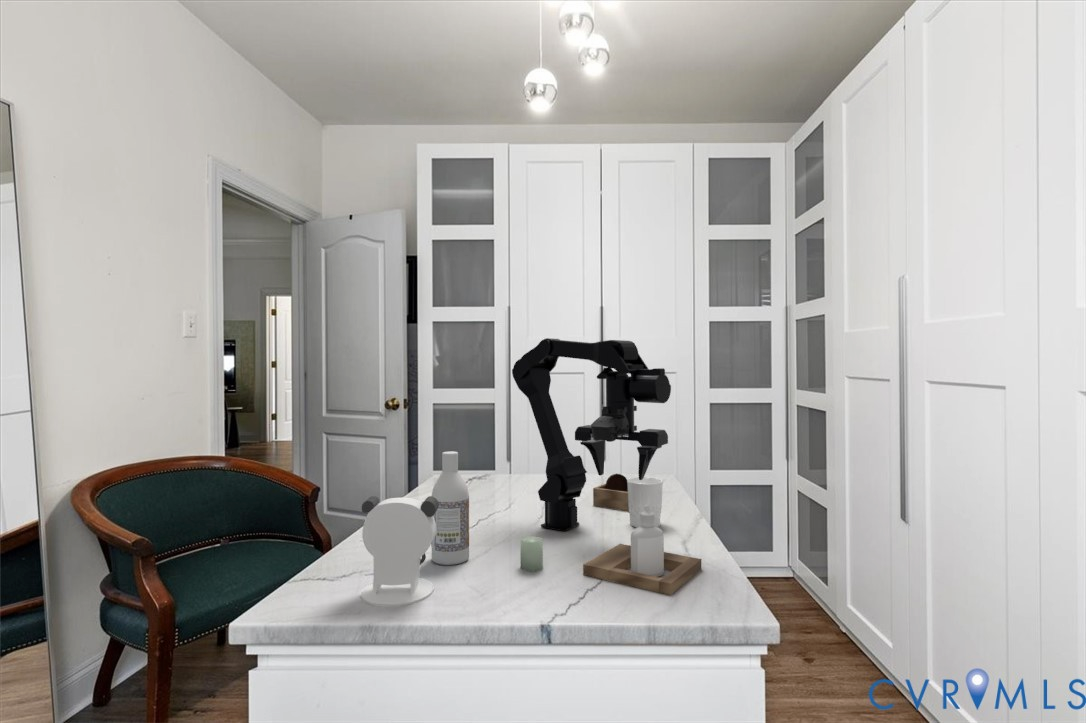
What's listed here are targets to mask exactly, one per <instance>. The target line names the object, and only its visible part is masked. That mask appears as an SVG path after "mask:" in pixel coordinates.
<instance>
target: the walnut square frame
mask: <svg viewBox="0 0 1086 723" xmlns="http://www.w3.org/2000/svg"><path fill="white" fill-rule="evenodd" d="M630 568H631V544H629V545H628V544H624V543H619V544H617V545H615V546H613V547H612V548H610V549H608V550H606V551H605V552H602V553H601V554H599V555H597V556H595V557H594V558H592V559H590V560H588V561H586V562H584V563H583V564H582V575H583V576H587V577H590V578H596V579H599V580H605V581H608V582H613V583H617V584H621V585H626V586H630V587H635V588H638V589H643V590H648V591H652V592H656V593H660V594H665V595H668V596H672V595H673V594H674V593H675V592H676V591H677V590H679V589H680V588H681V587H682V586H683V585H685V584H686V583H687V582H689V580H690V579H692V578H693V577H694V576H695V575H697V574H698V573H699V572H701V570H702V558H697V557H692V556H687V555H681V554H676V553H672V552H671V553H670V552H668V551H667V552H666V551H664V570H668V571H670V572H669V573H667V575H664V576H663V577H660V576H659V577H655V576H650V575H646V574H641V573H636V572H632V571H631V570H628V569H630Z"/></svg>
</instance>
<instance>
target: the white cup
mask: <svg viewBox="0 0 1086 723" xmlns="http://www.w3.org/2000/svg"><path fill="white" fill-rule="evenodd" d="M627 486H628V506H629V511H628V513H629V524H630V526H631V527H634V528H637V527H639V526H641V525H640V513H641V512H643V511H644V509H645V505H649V507H650V511H651V512H652V513H654V526H656V527H658V528H660V526H661V514H662V506H663V505H662V504H663V480H662V479H660V478H656V477H652V476H651V477H650V476H647V477H646V476H644V478H643V480H639V476H637V477H630V478H627Z"/></svg>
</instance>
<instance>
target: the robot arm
mask: <svg viewBox="0 0 1086 723" xmlns="http://www.w3.org/2000/svg"><path fill="white" fill-rule="evenodd" d="M560 357H561V358H569V359H578V360H586V361H591V362H593V363H595V364H596V365H599V366H601V367H602V366H603V367H604V368H603V369H602V371H601V372H599V373H598V374H597V376H596V379H598V380H605V406H602V410H601V413H602V414H601V416H599V417H597V418H596V419H595V420H594V421H593V422H592V423H591V424H587V425H580V426H577V428H576V429H575V431H574V441H579V442H580V445H583V446H584V447H585V448H586V449H587V450H588V451H589V453H590V455H591V458H592V461H593V463H594V466H595V469H596V472H597V474H598V476H602V475H604V468H605V451H606V450H605V449H606V442H615V441H616V440H619V441H633V442H638V443H639V445H640V446H636V450H637V453H638V477H639V480H643V478H644V477H645V475H646V473H647V470H648V468H649V465H650V463H651V460H652V458H653V457H654V454H655V453H656V452H657V449H661V448H662V446H664V445H667V444H669V435H668V433H667V431H666V430H665V429H655V428H648V429H647V428H646V429H643V430H639V431H638V426H637V425H635V412H636V411H638V408H637V406H638V405H635V402H636V403H648V404H649V403H650V404H651V403H652V404H655V403H656V404H665V403H667V402H668V400H669V399H670V397H671V392H672V385H671V384H670V380H669V377H668V376H667V375H666V369H665V368H663V367H661V368H651V369H650V368H648V366H647V364H646V362H645V361H644V359H643V358H642V357H641V355H640V354H639V350H638V347H637V345H636V344H635V342H633V341H632V340H621V339H619V340H617V339H609V340H600V341H596V342H587V341H586V342H585V341H574V340H565V339H564V340H563V339H562V340H561V339H560V338H550V337H549V338H547V337H546V338H544V339H542V340H541V341H539V342H538V344H537V345H536V346H534V347H533V348H532V349H530V350H529V351H527V352H526V353H525V354H523V355H522V357H520V358H519V359H518V360H516V362H515V363H514V364H513V368H512V370H511V373H512V377H513V380H514V381H515V384H516V385H517V388H518V390H519V391H521V393H522V394H524V396H526V398H527V399H528V402H529V405H530V407H531V410H532V414H533V416H534V420H535V422H536V425H537V429H538V431H539V435H540V438H541V441H542V445H543V447H544V450H545V453H546V456H547V461H546V465H545V477H546V482H544V484H543V485H542V486H540V488H539V489H538V491H537V493H538V496H539V497H538V498H539V500H540V501H542V502H544V523H542V524H540V527H541V528H545V529H550V530H555V531H561V532H566V531H569V530H571V529H573V528H576V527H578V526H580V522H578V506H577V504H576V501H577V500H576V498H580V497H581V494H582V490H583V489H584V487H585V485H586V482H587V475H586V473H588V471H587V470H586V469H585V466H584V464H583V458H582V457H581V455H574V454H572V452H570V450H569V448H568V445H567V442H566V439H565V436H564V435H565V434H564V433H563V430H562V427H561V424H560V421H559V418H558V416H557V412H556V409H555V406H554V403H553V400H552V397H551V394H550V387H551V382H552V378H551V374H550V373H551V372H552V370H554V369H555V367H556V365H557V362H558V359H559V358H560ZM613 369H614V370H613ZM628 374H630V375H628Z"/></svg>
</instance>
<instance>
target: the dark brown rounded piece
mask: <svg viewBox="0 0 1086 723" xmlns="http://www.w3.org/2000/svg"><path fill="white" fill-rule="evenodd" d="M627 480H628V478H627V477H626V476H624V475H622V474H620V473H614V474H611V475H609V477H608V478H607V479H606V482H605V484H606V489H609V490H616V491H624V492H627V491H628V486H627Z"/></svg>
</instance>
